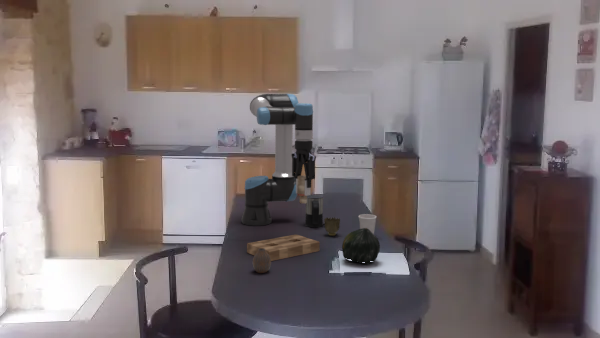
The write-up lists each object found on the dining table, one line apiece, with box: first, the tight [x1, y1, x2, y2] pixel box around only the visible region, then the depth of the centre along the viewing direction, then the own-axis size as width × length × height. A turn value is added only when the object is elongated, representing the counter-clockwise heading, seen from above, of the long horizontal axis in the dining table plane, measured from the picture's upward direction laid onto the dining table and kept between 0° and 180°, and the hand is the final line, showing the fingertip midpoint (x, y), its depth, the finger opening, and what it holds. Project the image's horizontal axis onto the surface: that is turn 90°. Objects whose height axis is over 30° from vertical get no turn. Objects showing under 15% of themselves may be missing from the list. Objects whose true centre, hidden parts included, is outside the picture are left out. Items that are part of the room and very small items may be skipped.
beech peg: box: [297, 175, 308, 205], centre depth 268 cm, size 5×5×12 cm
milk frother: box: [304, 194, 325, 228], centre depth 311 cm, size 14×16×15 cm
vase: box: [252, 248, 272, 274], centre depth 236 cm, size 7×7×9 cm
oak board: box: [246, 233, 321, 262], centre depth 263 cm, size 16×26×4 cm, turn 128°
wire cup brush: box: [323, 216, 341, 237], centre depth 292 cm, size 8×7×8 cm
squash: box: [341, 228, 381, 265], centre depth 249 cm, size 14×15×15 cm
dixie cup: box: [357, 213, 377, 235], centre depth 289 cm, size 8×8×10 cm
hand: (303, 194), depth 269 cm, fingers closed on beech peg, 5 cm apart
